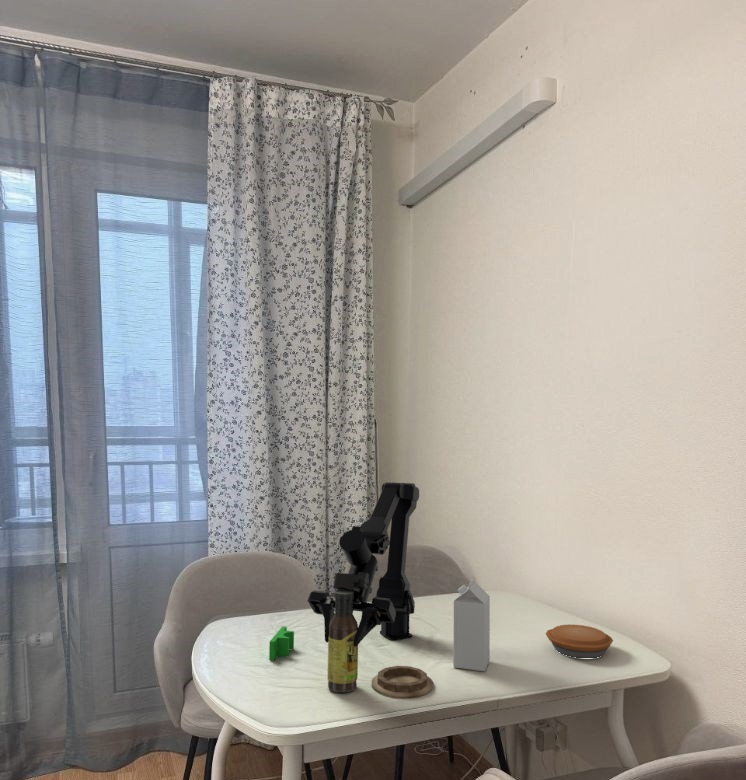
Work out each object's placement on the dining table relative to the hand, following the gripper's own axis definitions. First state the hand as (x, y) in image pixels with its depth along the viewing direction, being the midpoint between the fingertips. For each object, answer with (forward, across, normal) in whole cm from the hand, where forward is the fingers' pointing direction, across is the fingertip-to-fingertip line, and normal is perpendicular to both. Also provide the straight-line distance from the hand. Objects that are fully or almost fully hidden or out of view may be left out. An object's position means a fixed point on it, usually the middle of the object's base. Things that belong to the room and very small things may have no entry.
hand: (340, 643), depth 135 cm
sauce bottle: (+6, 0, +8) cm, 10 cm away
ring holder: (+2, +11, +12) cm, 16 cm away
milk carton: (-10, +23, +24) cm, 34 cm away
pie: (-23, +45, +37) cm, 63 cm away
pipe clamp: (-4, -21, +18) cm, 28 cm away
